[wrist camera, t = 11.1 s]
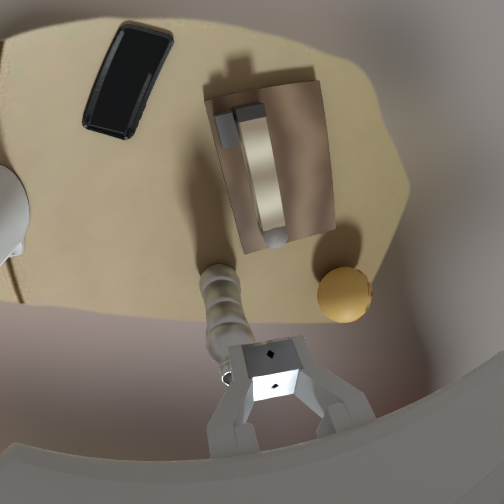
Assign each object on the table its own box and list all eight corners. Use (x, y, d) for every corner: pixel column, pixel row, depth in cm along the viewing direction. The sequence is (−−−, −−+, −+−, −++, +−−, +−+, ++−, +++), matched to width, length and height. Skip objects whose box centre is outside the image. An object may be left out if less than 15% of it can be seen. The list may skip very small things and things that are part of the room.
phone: (79, 127, 30) (122, 22, 23) (82, 126, 30) (124, 24, 24) (131, 142, 33) (177, 37, 26) (133, 140, 33) (177, 38, 27)
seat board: (242, 247, 45) (248, 265, 41) (204, 100, 32) (205, 101, 28) (330, 223, 46) (344, 238, 42) (313, 80, 33) (329, 80, 29)
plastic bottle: (224, 251, 45) (247, 353, 28) (245, 279, 49) (273, 378, 32) (190, 271, 46) (196, 375, 29) (213, 297, 49) (228, 397, 33)
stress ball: (301, 282, 53) (321, 330, 52) (320, 278, 43) (343, 335, 42) (345, 261, 55) (363, 307, 54) (369, 254, 45) (390, 308, 44)
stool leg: (280, 230, 42) (289, 245, 39) (260, 236, 42) (266, 251, 39) (256, 101, 32) (264, 103, 28) (230, 107, 32) (235, 109, 28)
